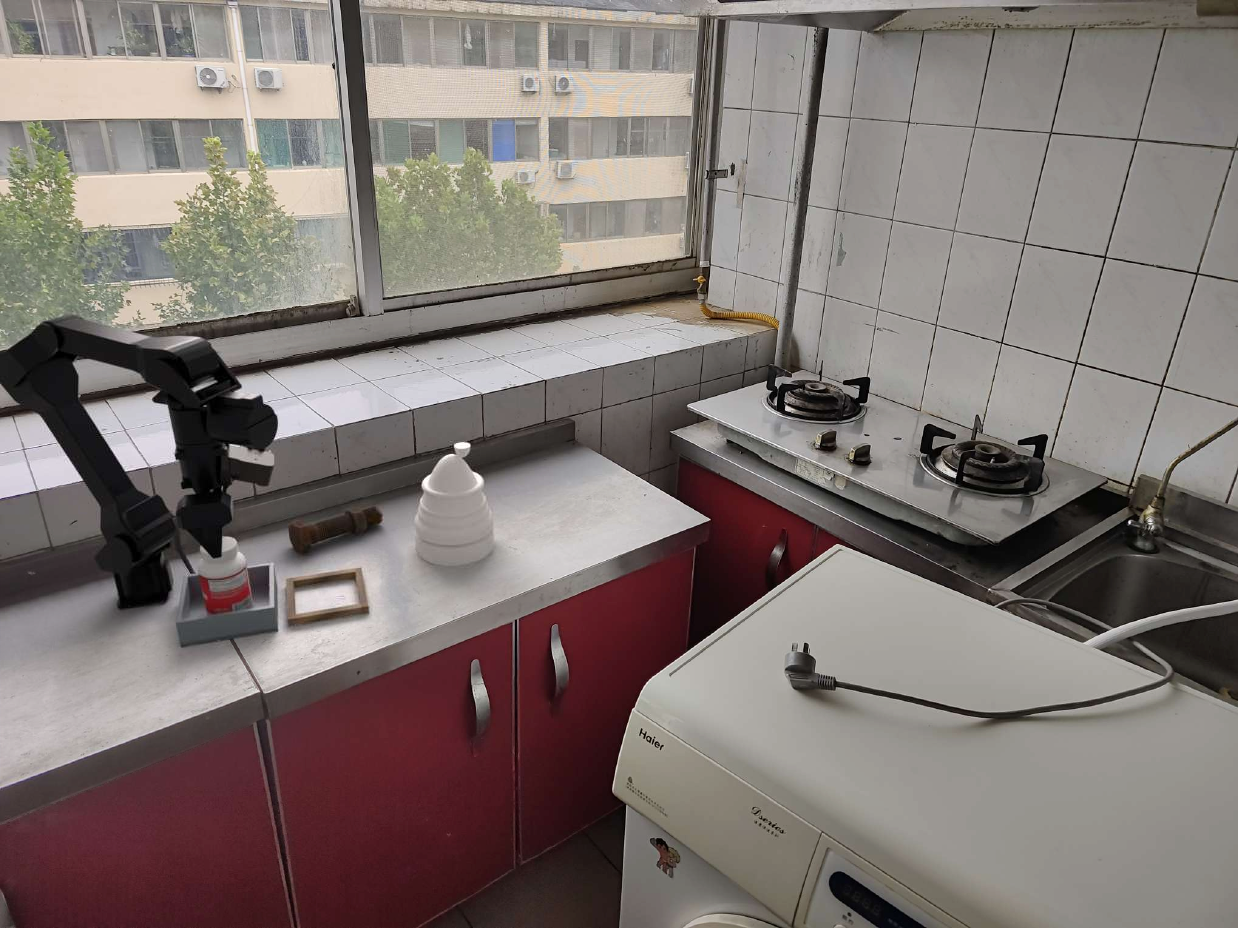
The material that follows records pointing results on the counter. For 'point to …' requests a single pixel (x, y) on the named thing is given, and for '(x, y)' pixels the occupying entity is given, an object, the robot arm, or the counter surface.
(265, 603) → the bin
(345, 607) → the wooden frame
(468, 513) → the honey pot
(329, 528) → the bolt
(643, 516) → the counter surface
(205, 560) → the pill bottle
